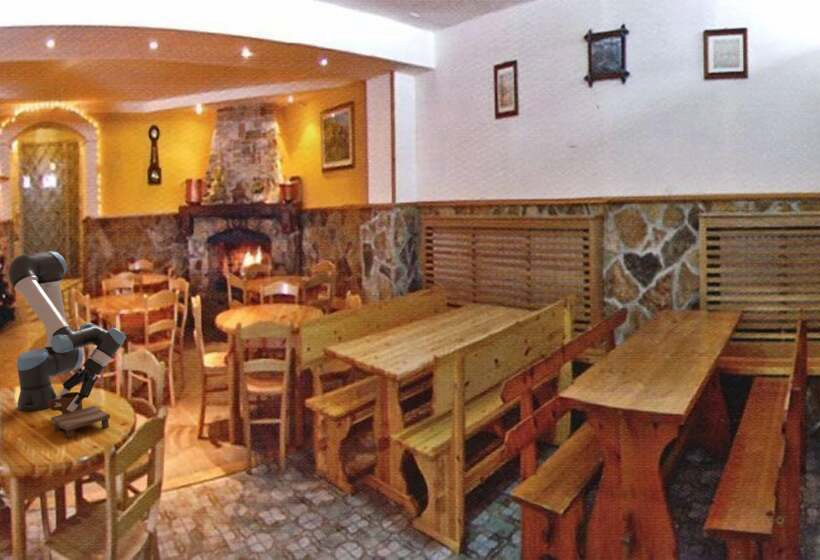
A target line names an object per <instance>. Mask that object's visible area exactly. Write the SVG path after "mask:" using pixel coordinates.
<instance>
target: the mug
mask: <svg viewBox="0 0 820 560" xmlns="http://www.w3.org/2000/svg"><path fill="white" fill-rule="evenodd" d="M78 393H80V391H79V392H78V391H72V392H71V391H70V392H69V393H66V394H63V395H61V397H60V399H57V398H54V399H52V400H50V401H49V403H48V406H49V409H50V410H51V411H55V412H56V411H59V412H61V415H62V414H66V413H70V412H71V411H69V410H67V408H68V406H69V405H70V404H71V402H72V401H73V400H74V398H75V397H76V396H77V394H78ZM53 402H57V403H60V405H57V406H56V405H54V406H53V404H52V403H53ZM80 409H84V407H83V400H82V401H81V402H80V404H79V405H78V406H77V408H76V409H75V410H74V411H77V410H80Z"/></svg>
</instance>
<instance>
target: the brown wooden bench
mask: <svg viewBox="0 0 820 560" xmlns="http://www.w3.org/2000/svg"><path fill="white" fill-rule="evenodd" d="M50 418H51V419H50V420H51V422H52V423H53V427H54V431H55V432H58V431H60V430H62V429H63V430H65V435H66V438H67V439H68V440H70V439H69V438H71V439H74V438H75V434H74V430H75V429H79V428H81V427H85V426H88V425H93V424H95V423H96V424H97V423H99V422H101V428H102V427H103V428H102V429H106V427H108V428H109V427H110V425H109V419H111V414H109V413H107V412H106V411H104V410H103V409H100V408H98V407H96V406H94V405H93V406H92V405H91V406H89V407H85V408H84V407H83V409H80V410H77V411H73V412H70V413H66V414H62V413H61V414H59V415H55V416H52V417H50ZM73 437H74V438H73Z"/></svg>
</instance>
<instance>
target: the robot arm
mask: <svg viewBox="0 0 820 560" xmlns="http://www.w3.org/2000/svg"><path fill="white" fill-rule="evenodd" d="M67 268H68V267H67V262H66V260H65V259H64V257H63V256H62V255H61V254H60V253H59V252H57V251H54V250H52V251H51V250H50V251H40V252H33V253H25V254H20V255H18V256H16V257H14V258H13V259H12V260H11V261H10V264H9V266H8V270H7V277H8V280H9V283H10V285H11V286H12V287H13V289H14V290H15V292H18V293H20V294H21V296H22V297H23V299H24V300H25V301H26V302H27V304H28V305H29V307H30V308H31V309H32V311H33V313H35V314H36V316H37V317H38V319H39V320H40V322H41V323H42V324H43V326H44V328H45V333H46V337H47V338H46V339H47V342H46V343H45V344H44V348H36V349H31V350H27V351H25V352H23V353H21V354H20V355H18V357H17V359H16V369H17V372H18V373H17V374H18V382H19V390H20V391H19V395H18V400H17V403H16V404H17V410H19V411H21V412H34V411H35V410H36V411H40V410H45V409H48V408H49V406H48V403H49V401H50V400H52V399H54V398H57V399H60V397H61V395H63V394H66V393H70V392H71V390H72V389H73V388H74V387H76V386H78V385H79V384H80V383H81V386H80V389H79V393H78V394H77V396H76V397H75V398H74V400H73V401H72V402H71V404H70V405H69V406H68V408H67V410H69V411H71V412H73V411H74V410H75V409H76V408H77V406H78V405H79V404H80V402H81V401H82V402H83V399H88V398H89V397H90V394H91V392H92V390H93V388H94V385H95V383H96V381H97V380H98V379H99V375H100V374H101V373H102V372H103V371H104V369H105V367H106V366H107V364H108V363H110V361H111V359H112V358H113V357H114V355H115V354H116V353H117V352H118V350H119V349H120V348H121V347H122V345H123V344H124V342H125V340H126V339H127V336H126V335H125V333H124V332H123V331H121V330H120V329H118V328H115V327H111V328H110V329H109V330H107V329H105V328H103V327H101V326H99V325H97V324H95V323H92V322H85V323H83V325H80V327H79V329H76V330H73V329H72V328H71V326H70V325H69V324H68V322H67V316H66V311H65V306H64V300H63V295H62V290H61V284H62V283H63V279H64V278H63V276H64V275H65V274H66V273H67ZM91 345H94V346H96V347H95V349H93V351H92V352H91V353H90V355H89V357H88V358H87V359H86V360H85V362H84V363H83V364H82V362H83V356H84V354H83V350H82V348H85V347H87V346H91ZM81 364H82V367H84V369H83V368H81V367H80V365H81ZM79 367H80V368H79ZM76 369H78V370H77V371H76V372H74V374H73V375H70V377H69V378H68V379H67V380H66V381H64V382H63V383H62V386H63V387H62V389H61V391H60V392H59V393H58V395H57V393H56V391H55V389H54V387H53V385H52V377H55V376H58V375H62V374H65V373H69V372H72V371H73V370H76ZM52 404H53V406H56V405H57V406H61V403H57V402H53V403H52ZM49 409H50V408H49Z"/></svg>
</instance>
